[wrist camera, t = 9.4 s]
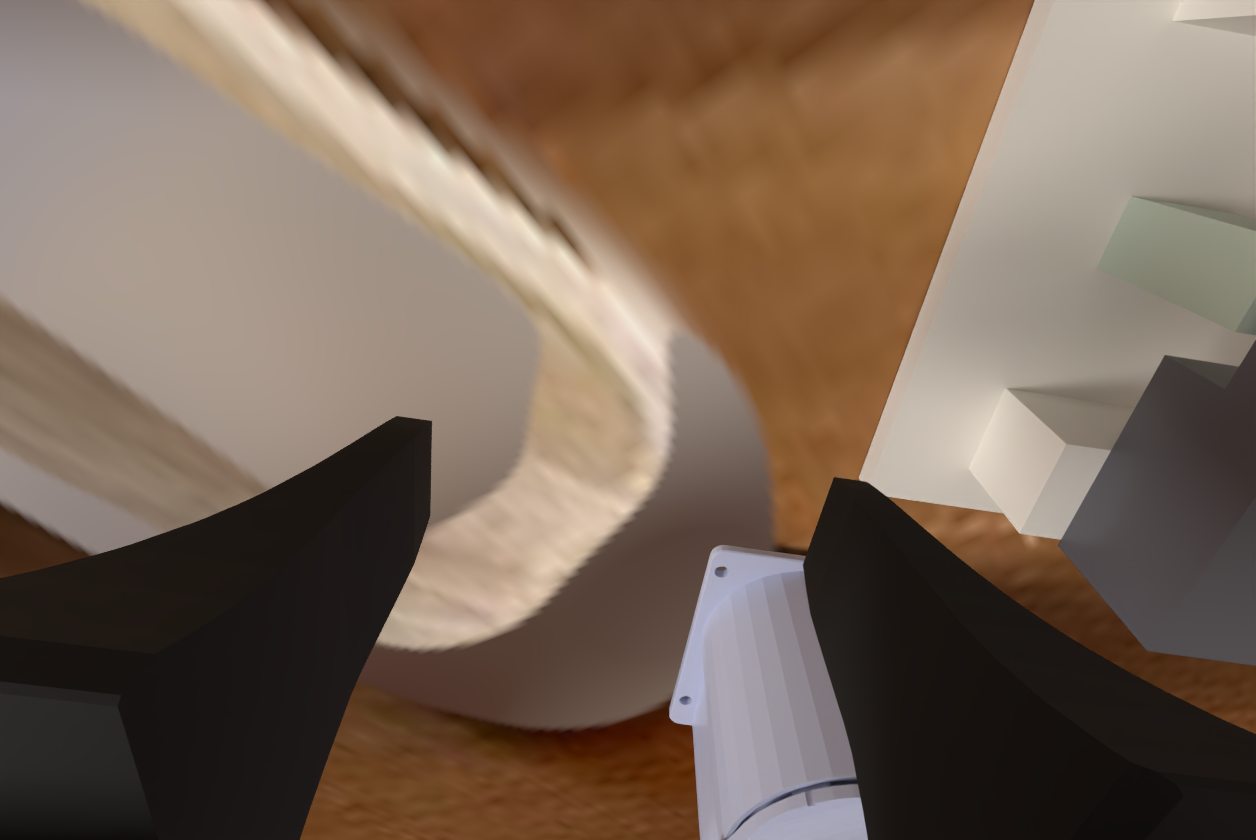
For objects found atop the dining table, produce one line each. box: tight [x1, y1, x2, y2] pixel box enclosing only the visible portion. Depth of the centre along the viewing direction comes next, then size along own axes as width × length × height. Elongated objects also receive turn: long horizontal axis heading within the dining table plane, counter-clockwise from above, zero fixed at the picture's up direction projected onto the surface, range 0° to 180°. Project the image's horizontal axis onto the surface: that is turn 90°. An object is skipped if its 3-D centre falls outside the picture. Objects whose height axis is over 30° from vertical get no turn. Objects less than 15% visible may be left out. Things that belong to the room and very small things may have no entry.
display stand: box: [859, 0, 1256, 540], centre depth 17 cm, size 19×11×6 cm, turn 171°
